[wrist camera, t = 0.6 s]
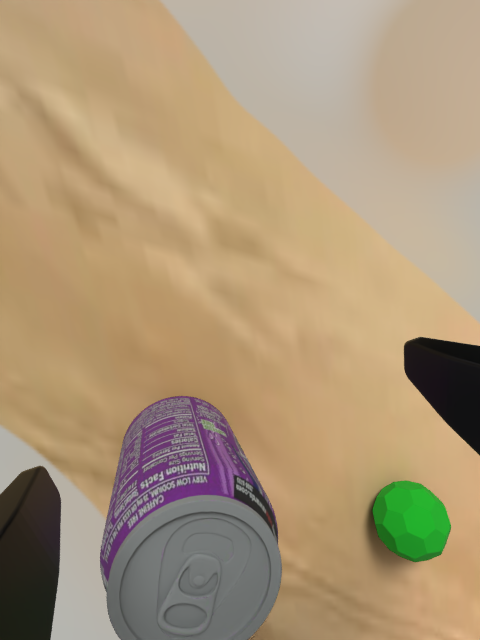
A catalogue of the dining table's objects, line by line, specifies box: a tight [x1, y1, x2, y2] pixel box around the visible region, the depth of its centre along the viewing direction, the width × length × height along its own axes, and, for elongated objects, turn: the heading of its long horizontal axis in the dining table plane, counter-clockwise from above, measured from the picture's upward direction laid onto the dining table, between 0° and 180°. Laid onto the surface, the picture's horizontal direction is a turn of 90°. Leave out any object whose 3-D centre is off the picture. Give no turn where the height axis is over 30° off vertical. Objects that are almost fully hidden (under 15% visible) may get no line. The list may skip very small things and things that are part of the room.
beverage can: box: [100, 396, 282, 640], centre depth 19 cm, size 7×7×12 cm
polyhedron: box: [372, 481, 451, 562], centre depth 26 cm, size 5×5×5 cm
